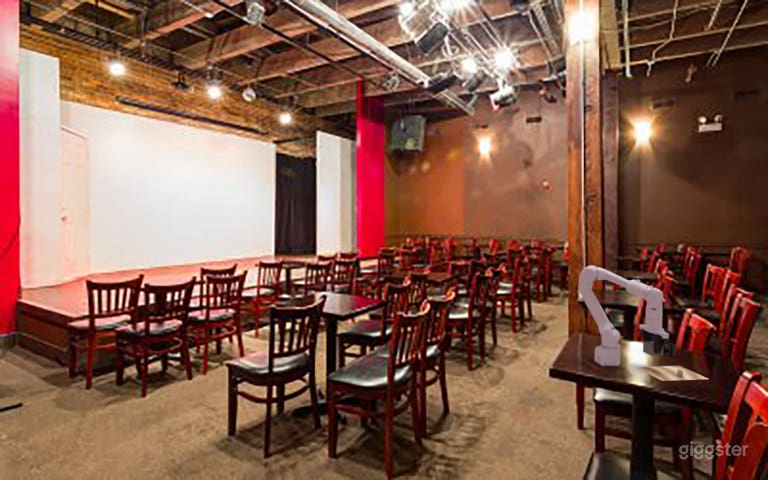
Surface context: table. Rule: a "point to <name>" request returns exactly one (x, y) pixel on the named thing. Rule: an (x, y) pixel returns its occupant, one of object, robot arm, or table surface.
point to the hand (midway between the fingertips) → (652, 351)
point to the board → (671, 373)
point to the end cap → (669, 349)
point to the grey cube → (650, 348)
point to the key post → (680, 373)
